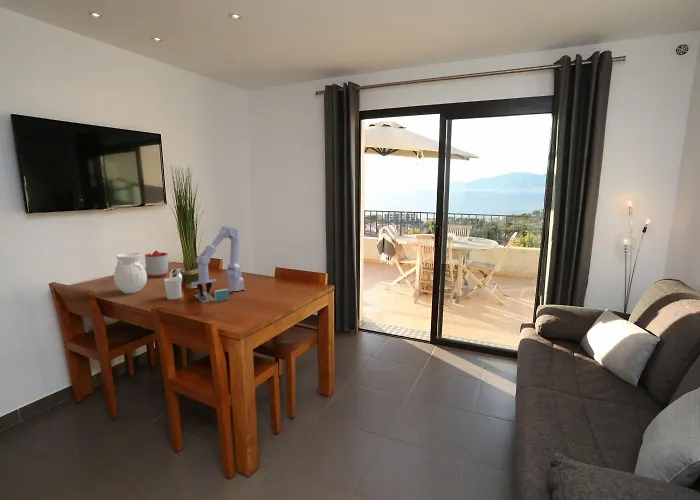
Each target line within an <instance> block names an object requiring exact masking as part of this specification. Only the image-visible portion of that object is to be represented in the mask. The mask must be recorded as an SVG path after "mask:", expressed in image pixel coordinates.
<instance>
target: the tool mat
mask: <svg viewBox="0 0 700 500" xmlns="http://www.w3.org/2000/svg"><path fill="white" fill-rule="evenodd" d="M193 296H194V298H195V299H197V298H198V299H199V300H198V299H197V300H198V301H200V302H201V303H202V302H203V303H202V304H205V303H204V302H207V303H210V302H209V301H206V300H204V299H203V298H202V297H201V296H199V293H198V294H194V295H193ZM212 299H214V300H215V297H213V296H211V300H212Z"/></svg>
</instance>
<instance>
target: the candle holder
mask: <svg viewBox="0 0 700 500" xmlns="http://www.w3.org/2000/svg"><path fill="white" fill-rule="evenodd" d="M163 283H164V289H165V296H166V299H167V300H177V299H181V298H182V277H180V276H174V277H172V276H170V277H167V278H164V279H163Z"/></svg>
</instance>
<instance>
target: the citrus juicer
mask: <svg viewBox="0 0 700 500" xmlns="http://www.w3.org/2000/svg"><path fill="white" fill-rule="evenodd" d="M144 260H145V270H146V273H147V274H148V275H147V276H148V277H150V278H153V279H155V278H162V277H166V276H167V275H168V270H169V259H168V253H167V252H159V251H158V250H155V251H154V252H152V254H151V253H146V254H144Z"/></svg>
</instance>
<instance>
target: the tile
mask: <svg viewBox="0 0 700 500" xmlns="http://www.w3.org/2000/svg"><path fill="white" fill-rule="evenodd" d="M228 289H229V288H224V289H217V290H214V299H215V301H221V300H225V299H229V300H230V297H229V296H230V292H229V290H228ZM215 301H214V302H215ZM221 302H222V301H221Z"/></svg>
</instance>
